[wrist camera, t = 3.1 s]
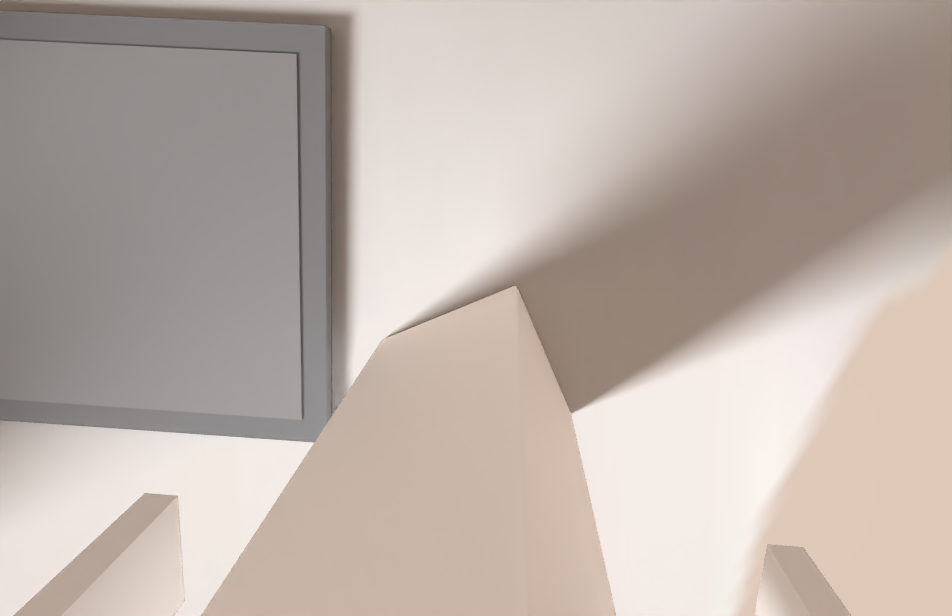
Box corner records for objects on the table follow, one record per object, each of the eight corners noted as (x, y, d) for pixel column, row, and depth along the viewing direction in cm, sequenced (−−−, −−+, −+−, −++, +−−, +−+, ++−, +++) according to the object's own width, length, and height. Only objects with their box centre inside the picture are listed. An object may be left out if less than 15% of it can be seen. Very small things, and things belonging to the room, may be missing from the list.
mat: (-36, 409, 29) (-53, 417, 28) (-95, 9, 25) (-117, 4, 24) (331, 434, 28) (326, 444, 27) (330, 29, 24) (324, 24, 23)
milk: (516, 283, 26) (558, 908, 5) (572, 416, 27) (813, 1399, 6) (377, 340, 27) (-132, 1096, 5) (438, 466, 28) (217, 1492, 7)
